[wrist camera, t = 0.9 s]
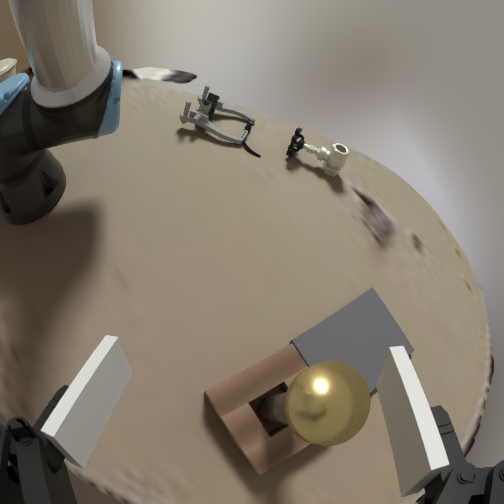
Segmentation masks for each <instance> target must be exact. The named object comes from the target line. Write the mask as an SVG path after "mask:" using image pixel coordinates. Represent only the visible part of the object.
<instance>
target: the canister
mask: <svg viewBox="0 0 504 504" xmlns="http://www.w3.org/2000/svg"><path fill="white" fill-rule="evenodd" d="M16 63H17V60H16V59H10V58H9V59H4V60H1V61H0V83H1V82H3V81H5V80H6V79H8V78H10V77H12V76H14V75H16V68H15V64H16Z"/></svg>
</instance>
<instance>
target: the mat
mask: <svg viewBox="0 0 504 504" xmlns="http://www.w3.org/2000/svg"><path fill="white" fill-rule="evenodd" d="M290 343H291V344H292V343H293V345H294V346H295V348H296V349H297V351H298V353H299V354H300V356H301V357H302V359H303V360H304V362H305V363H306V365H307V366H308V367H310V366H313V365H315V364H317V363H320V362H324V361H340V362H343V363H346V364H348V365H350V366H352V367H353V368H355V369H356V370H357V371H358V372H359V373H360V374H361V375H362V377H363V378H364V380H365V382H366V384H367V386H368V389H369V393H371V392H372V391H373V390H374V389H375V388H376V384H377V381H378V379H379V376H380V373H381V370H382V367H383V365H384V362H385V359H386V356H387V353H388V349H389V347H396V346H404V348H405V350H406V352H407V354H408V356H409V355H410V354H411V353H412V352H413V351H414V349H413V348H412V346H411V344H410V343H409V341H408V340H407V338H406V336H405V335H404V333H403V332H402V330H401V329H400V327H399V326H398V324H397V323H396V321H395V320H394V318H393V317H392V315H391V314H390V312H389V311H388V309H387V308H386V306H385V305H384V303H383V302H382V300H381V299H380V297H379V296H378V294H377V293H376V292H375V290H374V289H373V287H372V288H371V289H369V290H368V291H367V292H365V293H364V294H362V295H361V296H360V297H358V298H357V299H355V300H354V301H352V302H351V303H349V304H348V305H346V306H345V307H343V308H342V309H340V310H339V311H337V312H336V313H334V314H333V315H331V316H330V317H328V318H327V319H325V320H324V321H322V322H321V323H319V324H317V325H316V326H314V327H313V328H311V329H309V330H308V331H306V332H305V333H303V334H301V335H300V336H298V337H296V338H295V339H293V340H292V341H290Z"/></svg>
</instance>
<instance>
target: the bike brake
mask: <svg viewBox="0 0 504 504" xmlns="http://www.w3.org/2000/svg"><path fill="white" fill-rule="evenodd" d="M209 87H210V86H209V85H206V86H205V89H204V93H203V95H200V96H198V101H199V104H200V108H199V111H196V110H193V109H191V111H190V113H189V109H190V105H191V101H190V100H187V102H186V105H185V109H184V112H181V114H180V121H181V122H182V123H183V124H185V123H186V122H191V123H194V124H196V125H198V126H200V127H202V128H204V129H206V130H208V131H210V132H211V133H213V134H215V135H217V136H218V137H220V138H222V139H225V140H228V141H230V142H233V143H236V144H238V145H241V144H242V142H243V144H244V146H245V147H246V148H247V150H248V151H250V152H251V153H252V154H254V155H255V156H257V157H260V156H261V155H259V154H257V153H255V152H254V151H252V150H251V149H250V148H249V147H248V146H247V144H246V143H245V140H244V139H245V137H246V136H247V133H248V132H249V131H250V129H251V125H252V124H254V121H255V118H254V116H253V117H252V116H250V115H248V114H246V113H244V112H242V111H240V110H238V109H235V108H232V107H229V106H226V105H223V103H224V102H222V101H220V100H219V99H220V97H219V96H217V95H214V94H212V93H209V95H208V97H207V94H208V90H209ZM215 109H216V110H219V111H222V112H227V113H232V114H235V115H238V116H240V117H242V118H244V119H246V120H247V121H248V122H249V123H248V124H247V125H246V127H245V129H244V131H243V133H242V134H241V135H240V137H236V136H233V135H230V134H227V133H225V132H223V131H221V130H220V129H218V128H217V127H216V126H215V125H214V124H212V123H211V122H210V121H208V118H209V119H212V117H213V114H214V111H215Z"/></svg>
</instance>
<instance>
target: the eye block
mask: <svg viewBox="0 0 504 504" xmlns="http://www.w3.org/2000/svg"><path fill="white" fill-rule="evenodd" d="M306 368H308V366H307V365H306V363H305V362H304V360H303V359H302V357H301V356H300V354H299V353H298V351H297V349H296V348H295V346H294V345H293V343H292V344H290V345H288V346H287V347H285V348H283V349H282V350H280V351H278V352H276V353H275V354H273V355H271V356H270V357H268V358H266V359H264V360H263V361H261V362H259V363H257V364H255V365H254V366H252V367H250V368H248V369H246V370H244V371H243V372H241V373H239V374H237V375H235V376H233V377H231V378H229V379H228V380H226V381H224V382H222V383H220V384H218V385H216V386H214V387H212V388H210V389H208V390H206V391H205V392H204V394H205V395H206V397H207V399H208V400H209V402H210V404H211V406H212V407H213V409H214V411H215V412H216V414H217V415H218V417H219V419H220V420H221V422H222V423H223V425H224V427H225V428H226V430H227V431H228V433H229V434H230V436H231V438H232V439H233V441H234V442H235V444H236V445H237V447H238V448H239V450H240V451H241V453H242V454H243V455H244V457H245V458H246V460H247V461H248V463H249V464H250V465H251V467H252V468H253V470H255V471H256V472H257V473H258V474H259V475H262V474H264V473H265V472H267V471H269V470H270V469H272V468H274V467H276V466H277V465H279V464H280V463H282V462H284V461H285V460H287V459H288V458H290V457H292V456H293V455H295V454H296V453H298V452H299V451H301V450H302V449H304V448H305V447H307V446H308V445H309V444H311V443H309V442H306V441H304V440H302V439H301V438H299V437H298V436H297V435H296V434H295V433H294V432H293V431H292V430H291V428H290V426H289V425H282V424H272V423H266V422H264V421H262V420H261V419H260V418H259V416H258V414H257V406H258V404H259V402H260V401H261V400H262V399H263V398H265V397H268V396H272V395H276V394H280V393H284V392H287V390H288V387H289V385H290V384H291V382H292V381H293V379H294V378H295V377H296V376H297V375H298V374H299V373H300V372H302V371H303V370H305V369H306Z"/></svg>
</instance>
